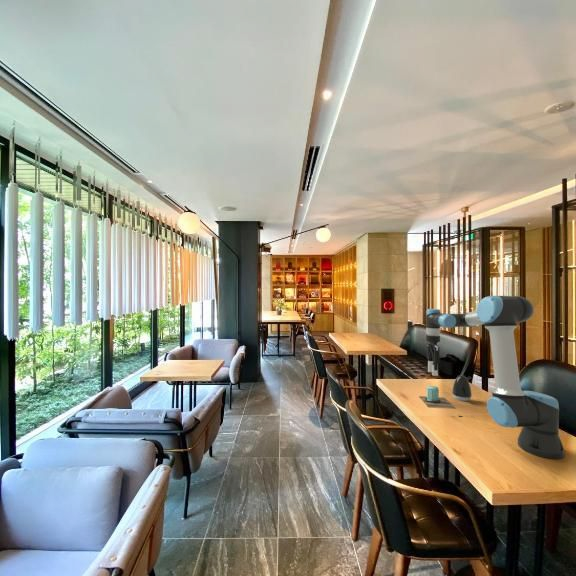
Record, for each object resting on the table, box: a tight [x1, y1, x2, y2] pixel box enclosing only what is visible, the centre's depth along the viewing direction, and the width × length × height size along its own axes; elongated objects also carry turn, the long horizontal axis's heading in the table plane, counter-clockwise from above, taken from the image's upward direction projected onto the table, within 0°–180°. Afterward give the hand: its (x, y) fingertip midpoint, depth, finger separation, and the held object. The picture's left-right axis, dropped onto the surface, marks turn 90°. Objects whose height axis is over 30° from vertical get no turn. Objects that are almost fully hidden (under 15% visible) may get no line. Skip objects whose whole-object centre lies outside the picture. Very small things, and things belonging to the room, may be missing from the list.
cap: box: [426, 385, 440, 401], centre depth 181 cm, size 6×6×7 cm
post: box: [425, 396, 440, 403], centre depth 181 cm, size 8×8×6 cm
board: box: [418, 395, 457, 410], centre depth 179 cm, size 18×15×1 cm
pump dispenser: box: [451, 374, 472, 402], centre depth 185 cm, size 10×10×15 cm
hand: (432, 373), depth 181 cm, fingers open, 7 cm apart
